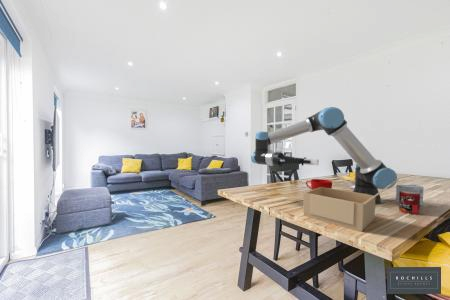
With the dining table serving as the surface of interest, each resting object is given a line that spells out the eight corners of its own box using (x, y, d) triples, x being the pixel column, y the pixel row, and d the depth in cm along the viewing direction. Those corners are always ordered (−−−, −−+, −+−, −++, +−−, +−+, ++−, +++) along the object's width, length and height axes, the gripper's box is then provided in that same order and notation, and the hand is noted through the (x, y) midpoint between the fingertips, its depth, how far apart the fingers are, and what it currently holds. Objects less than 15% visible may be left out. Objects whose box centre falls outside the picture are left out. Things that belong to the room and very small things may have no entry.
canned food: (394, 209, 110) (395, 189, 110) (408, 209, 111) (409, 189, 111) (408, 214, 103) (409, 192, 102) (423, 214, 103) (424, 192, 103)
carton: (302, 215, 99) (302, 192, 99) (320, 206, 114) (321, 186, 113) (361, 232, 81) (362, 204, 81) (374, 219, 96) (375, 195, 95)
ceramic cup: (310, 191, 151) (310, 177, 150) (335, 196, 138) (335, 181, 138) (301, 194, 142) (301, 179, 142) (327, 199, 129) (327, 183, 129)
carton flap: (390, 184, 76) (391, 184, 75) (398, 178, 89) (399, 179, 88) (363, 203, 82) (364, 204, 81) (375, 195, 95) (376, 196, 95)
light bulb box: (414, 202, 126) (414, 184, 126) (423, 205, 120) (424, 186, 119) (395, 201, 127) (395, 183, 127) (403, 204, 121) (404, 186, 120)
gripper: (281, 165, 122) (322, 169, 105) (268, 166, 113) (311, 171, 96) (281, 152, 122) (323, 154, 105) (269, 152, 113) (312, 155, 96)
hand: (317, 162), depth 101 cm, fingers closed
